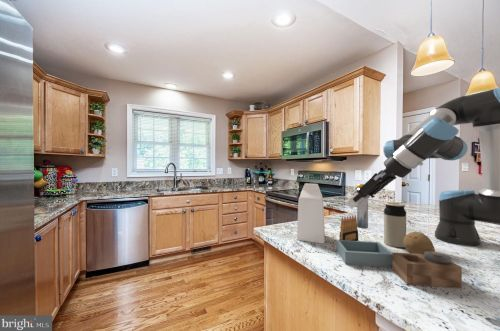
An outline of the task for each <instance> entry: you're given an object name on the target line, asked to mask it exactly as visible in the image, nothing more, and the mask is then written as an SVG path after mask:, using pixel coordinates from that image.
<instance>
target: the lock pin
mask: <svg viewBox="0 0 500 331" xmlns="http://www.w3.org/2000/svg"><path fill="white" fill-rule="evenodd" d="M364 184H365V183H357V184H356V194H357V193H358V192H357V190H359V189H360V188H361V187H362V186H363V185H364ZM356 218H357V229H358V228H359V229H369V198H368V195H366V196H365V198H364V199H363V200H362V201H361V202H359V203H358V204H357V207H356Z"/></svg>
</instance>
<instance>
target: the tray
mask: <svg viewBox="0 0 500 331" xmlns="http://www.w3.org/2000/svg"><path fill="white" fill-rule="evenodd" d="M335 241H336V243H335V244H336V249H335V251H336V252H337V253H338V255H339V257H340V258H341V259H342V261H343V263H344V264H345V265H356V266H368V267H369V266H370V267H382V268H383V267H386V268H393V266H392V252H393V251H391V250H390V249H388V248H387V247H386V246H385V245H383V244H382V243H381V242H380V241H367V240H366V241H364V240H362V241H361V240H358V241H348V240H340V239H336V240H335Z"/></svg>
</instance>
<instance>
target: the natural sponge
mask: <svg viewBox="0 0 500 331" xmlns="http://www.w3.org/2000/svg"><path fill="white" fill-rule="evenodd" d="M403 243H404V246H405V247H404V249H406V251H407V253H412V254H424V252H426V251H433V252H436V249H435V246H434V244H433V242H432V240H431V239H430V237H428V235H426V234H424V232H423V233H422V232H421V231H411V232H409V233H408V234H407V233H406V236H405V238H404V240H403Z"/></svg>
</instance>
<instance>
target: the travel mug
mask: <svg viewBox="0 0 500 331" xmlns="http://www.w3.org/2000/svg"><path fill="white" fill-rule="evenodd" d="M384 205H385V208H384V209H383V243H384V244H385V245H387V246H390V247H393V248H401V249H402V248H405V246H404V243H403V240H404V238H405V236H406V235H407V211H406V210H405V206H406V204H405V203H401V202H394V201H392V202H391V201H389V202H387V201H386V202H384Z"/></svg>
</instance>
